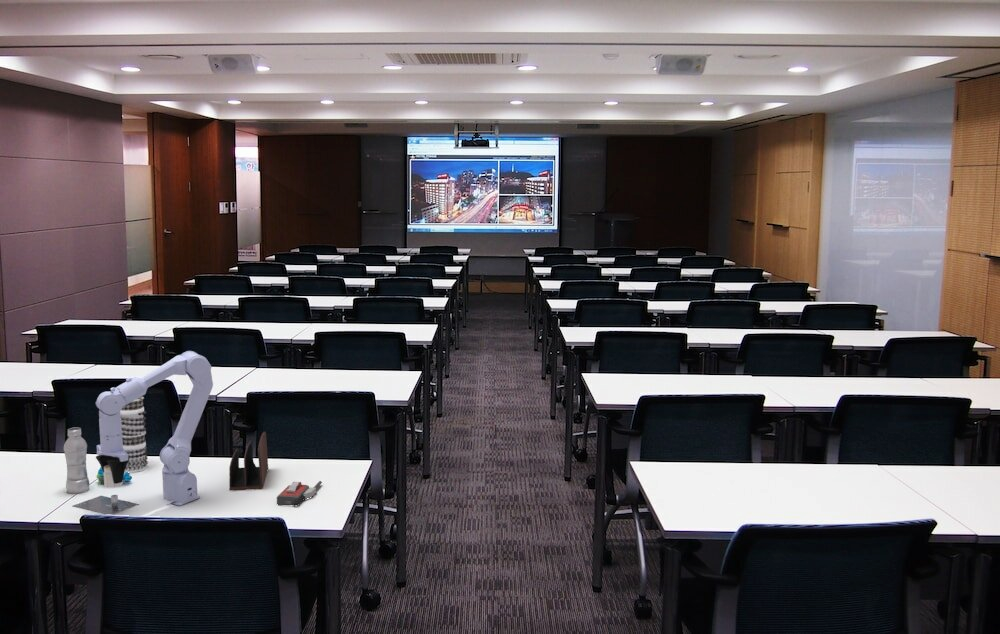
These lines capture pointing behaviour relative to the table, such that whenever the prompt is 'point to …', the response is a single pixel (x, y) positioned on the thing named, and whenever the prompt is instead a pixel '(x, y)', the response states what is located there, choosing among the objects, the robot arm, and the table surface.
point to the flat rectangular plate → (105, 505)
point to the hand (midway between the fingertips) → (113, 480)
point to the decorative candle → (134, 435)
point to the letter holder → (249, 468)
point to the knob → (109, 478)
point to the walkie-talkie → (296, 493)
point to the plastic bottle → (76, 462)
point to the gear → (101, 476)
